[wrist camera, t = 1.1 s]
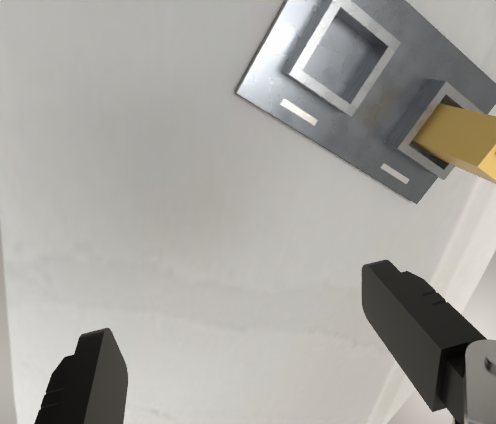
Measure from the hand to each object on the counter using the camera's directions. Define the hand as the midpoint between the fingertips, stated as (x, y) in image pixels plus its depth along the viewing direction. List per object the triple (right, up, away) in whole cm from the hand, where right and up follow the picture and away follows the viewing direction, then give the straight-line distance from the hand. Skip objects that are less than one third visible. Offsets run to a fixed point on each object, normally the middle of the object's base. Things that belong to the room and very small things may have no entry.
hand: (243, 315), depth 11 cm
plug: (+19, +12, +25) cm, 34 cm away
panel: (+13, +15, +24) cm, 31 cm away
